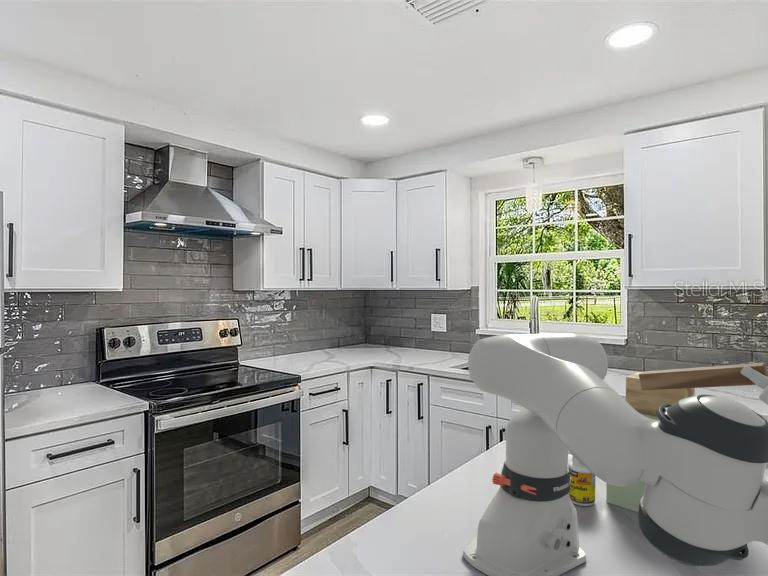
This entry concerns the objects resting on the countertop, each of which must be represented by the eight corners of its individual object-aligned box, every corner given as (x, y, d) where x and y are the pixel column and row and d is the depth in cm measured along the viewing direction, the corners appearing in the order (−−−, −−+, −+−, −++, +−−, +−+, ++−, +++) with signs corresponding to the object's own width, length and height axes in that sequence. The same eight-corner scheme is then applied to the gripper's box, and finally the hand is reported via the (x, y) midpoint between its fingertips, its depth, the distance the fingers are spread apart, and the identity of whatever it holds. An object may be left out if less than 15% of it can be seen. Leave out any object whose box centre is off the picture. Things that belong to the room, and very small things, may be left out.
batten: (766, 384, 92) (762, 365, 93) (642, 390, 108) (638, 374, 108) (769, 380, 95) (765, 362, 95) (647, 387, 110) (643, 371, 110)
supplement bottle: (563, 501, 109) (564, 455, 109) (573, 493, 113) (574, 448, 113) (589, 510, 105) (590, 462, 105) (599, 501, 109) (599, 455, 109)
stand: (682, 504, 107) (684, 385, 107) (624, 487, 116) (626, 376, 115) (692, 493, 113) (694, 379, 112) (636, 477, 122) (638, 371, 121)
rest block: (656, 518, 102) (657, 426, 101) (606, 502, 109) (607, 416, 108) (666, 506, 106) (668, 419, 106) (618, 492, 114) (619, 409, 113)
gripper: (810, 441, 81) (724, 388, 90) (818, 416, 96) (743, 372, 104) (837, 412, 79) (746, 360, 87) (841, 390, 94) (763, 347, 102)
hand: (745, 366), depth 96 cm, fingers open, 3 cm apart
